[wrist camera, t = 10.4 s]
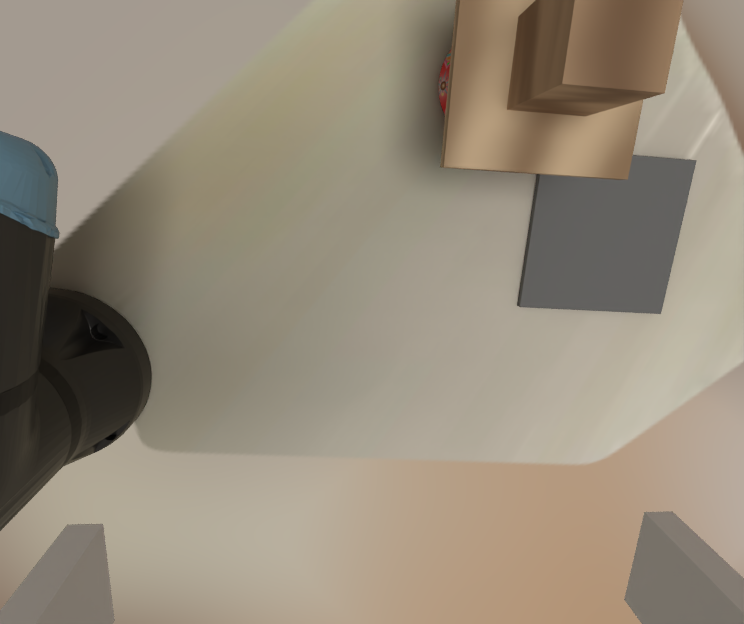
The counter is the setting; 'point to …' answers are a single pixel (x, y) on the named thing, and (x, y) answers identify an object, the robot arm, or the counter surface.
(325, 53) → the counter surface
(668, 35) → the lid
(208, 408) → the counter surface
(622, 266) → the mat
